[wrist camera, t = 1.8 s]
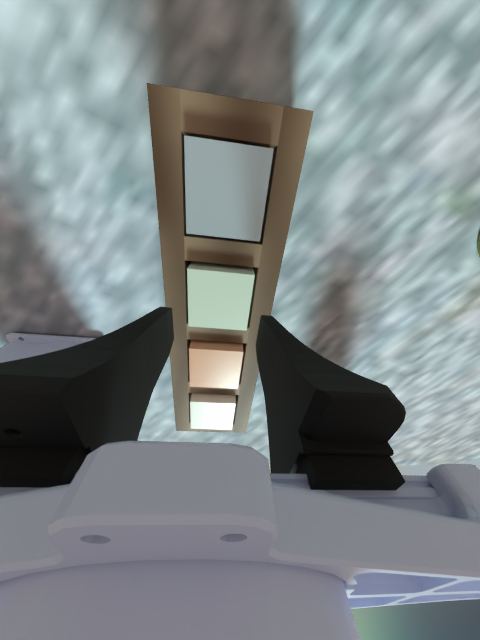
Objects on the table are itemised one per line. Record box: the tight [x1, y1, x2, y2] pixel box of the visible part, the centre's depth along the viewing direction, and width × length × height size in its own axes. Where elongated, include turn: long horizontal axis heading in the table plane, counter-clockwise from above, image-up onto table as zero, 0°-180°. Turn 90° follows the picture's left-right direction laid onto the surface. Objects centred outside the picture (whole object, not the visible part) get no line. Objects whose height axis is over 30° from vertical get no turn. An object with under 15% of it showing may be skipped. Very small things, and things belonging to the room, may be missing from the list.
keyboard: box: [147, 83, 313, 433], centre depth 19 cm, size 8×28×4 cm, turn 174°
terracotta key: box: [189, 340, 243, 389], centre depth 18 cm, size 4×4×2 cm
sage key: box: [187, 261, 255, 331], centre depth 15 cm, size 4×4×2 cm
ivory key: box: [190, 393, 236, 430], centre depth 22 cm, size 4×4×2 cm
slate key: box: [184, 135, 274, 242], centre depth 12 cm, size 4×4×2 cm
